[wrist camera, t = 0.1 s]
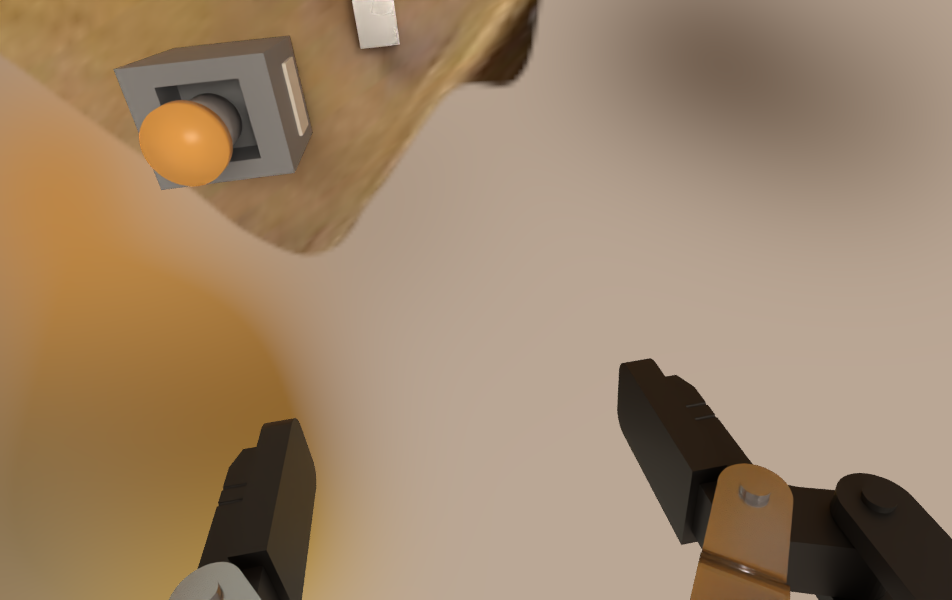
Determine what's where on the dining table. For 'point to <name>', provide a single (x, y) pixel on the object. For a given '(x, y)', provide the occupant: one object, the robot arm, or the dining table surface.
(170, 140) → the ball
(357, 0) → the rail
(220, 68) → the grey square housing
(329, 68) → the dining table surface
